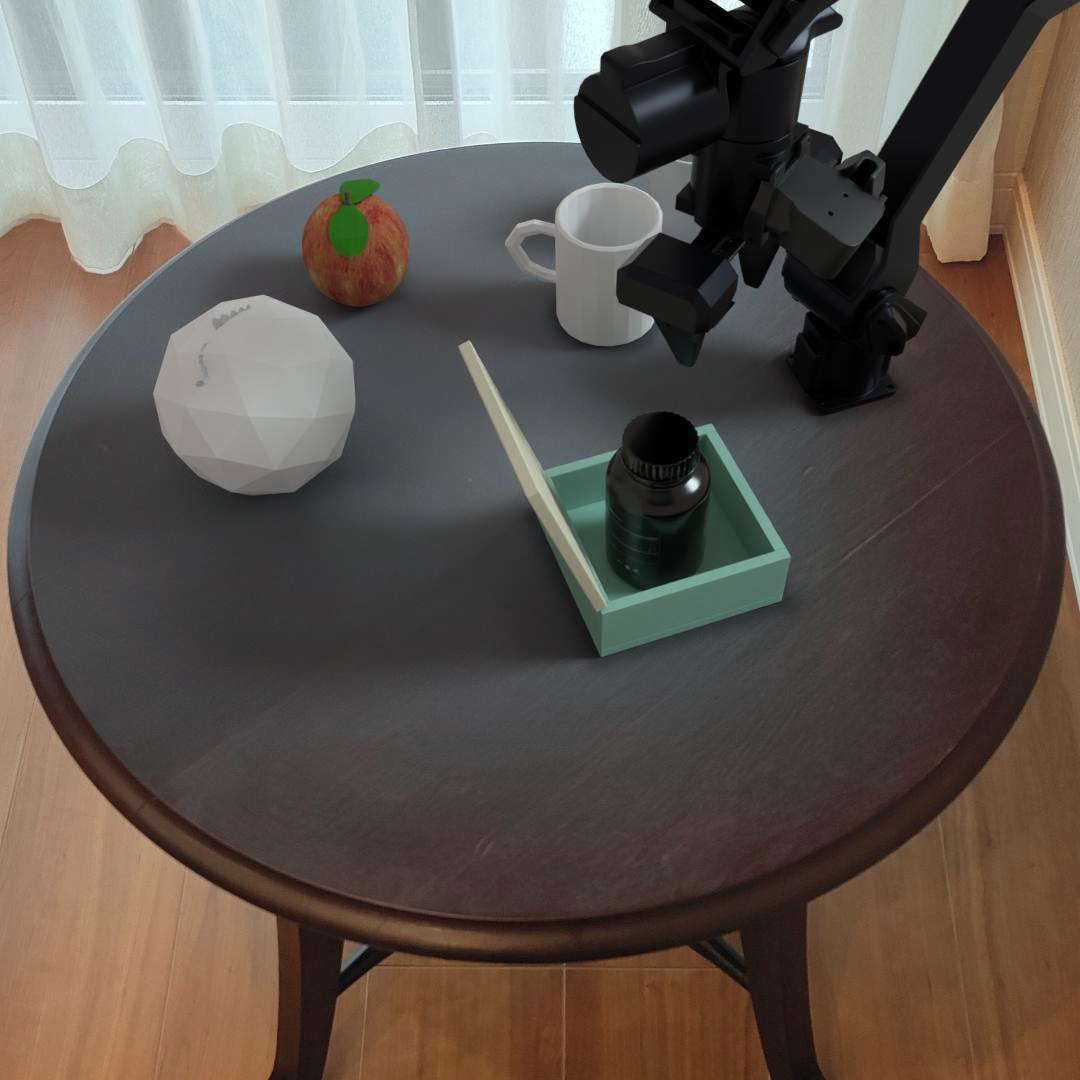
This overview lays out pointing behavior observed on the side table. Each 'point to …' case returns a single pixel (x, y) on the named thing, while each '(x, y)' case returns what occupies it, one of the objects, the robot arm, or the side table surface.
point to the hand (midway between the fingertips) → (720, 323)
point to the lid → (531, 476)
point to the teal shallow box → (708, 596)
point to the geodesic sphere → (256, 396)
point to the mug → (593, 259)
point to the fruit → (356, 245)
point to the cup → (673, 198)
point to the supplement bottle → (657, 501)
